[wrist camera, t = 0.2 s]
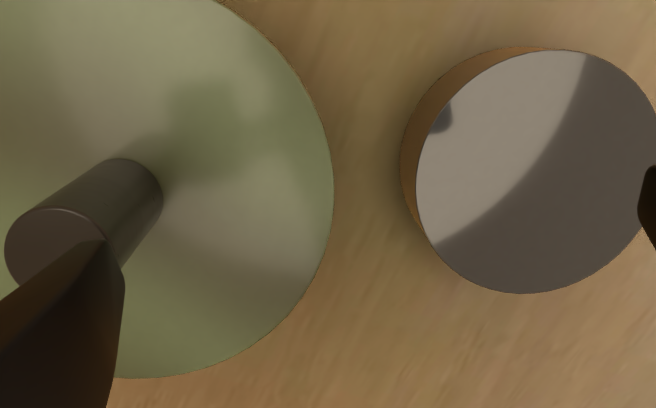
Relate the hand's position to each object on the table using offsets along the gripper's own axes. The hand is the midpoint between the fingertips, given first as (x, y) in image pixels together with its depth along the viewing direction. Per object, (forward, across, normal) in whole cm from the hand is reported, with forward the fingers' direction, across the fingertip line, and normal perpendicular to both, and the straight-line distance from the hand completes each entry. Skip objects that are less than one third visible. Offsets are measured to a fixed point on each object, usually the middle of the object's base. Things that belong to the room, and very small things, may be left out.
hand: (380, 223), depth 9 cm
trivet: (+14, -8, +7) cm, 18 cm away
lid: (+9, +7, +4) cm, 12 cm away
